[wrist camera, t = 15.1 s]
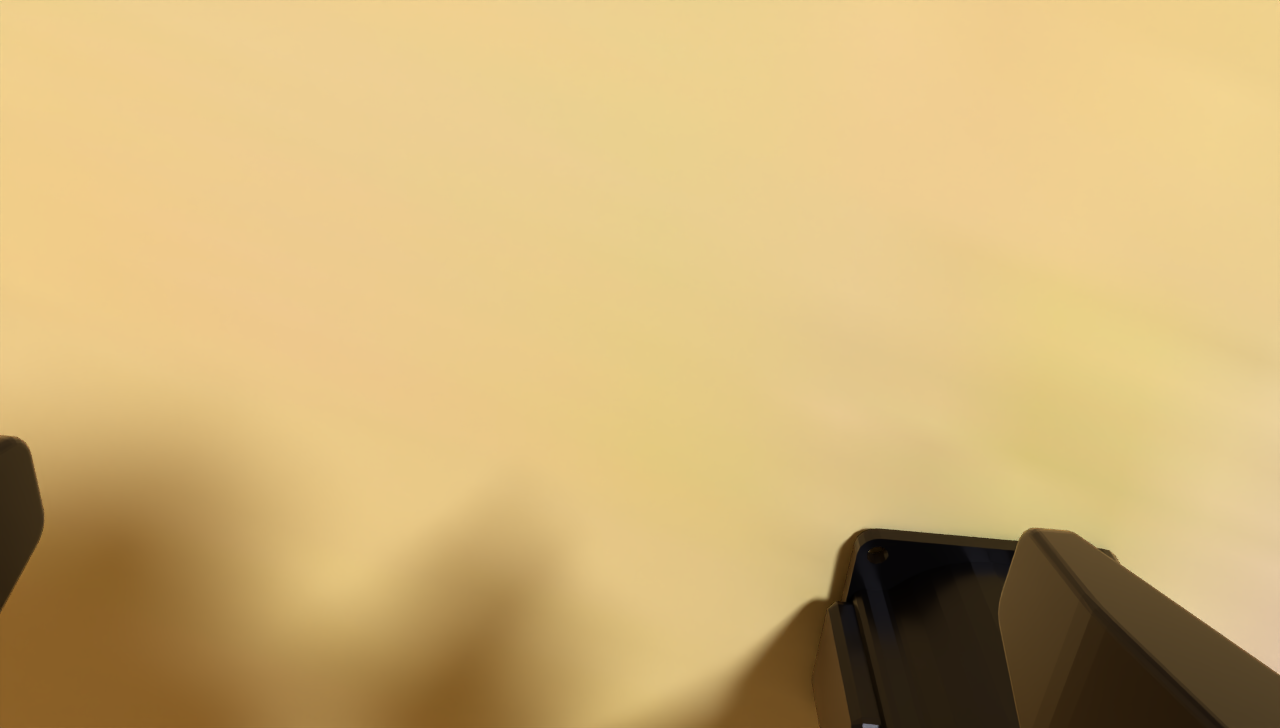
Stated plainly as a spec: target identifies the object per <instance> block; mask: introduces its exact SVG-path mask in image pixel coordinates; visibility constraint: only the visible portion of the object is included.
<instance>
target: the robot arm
mask: <svg viewBox="0 0 1280 728" xmlns="http://www.w3.org/2000/svg"><path fill="white" fill-rule="evenodd" d="M43 526H44V509H43V505H42V500H41V496H40V491H39V487H38V482H37V478H36V473H35V469H34V464H33V460H32V455H31V452H30V449H29V447H28V446H27V444H26V443H25V442H24V441H23V440H21V439H20V438H18V437H15V436H4V435H0V613H1V611H2V609H3V607H4V605H5V603H6V602H7V600H8V598H9V596H10V594H11V592H12V590H13V589H14V587H15V585H16V583H17V581H18V579H19V577H20V575H21V574H22V572H23V570H24V568H25V566H26V564H27V562H28V561H29V559H30V557H31V555H32V553H33V551H34V549H35V548H36V546H37V544H38V542H39V540H40V537H41V534H42V531H43ZM874 547H882V548H884V549H883V550H882V551H880V552H879V553H873V554H872V553H869V552H868V551H869V550H870V549H872V548H874ZM812 685H813V691H814V697H815V703H816V709H817V715H818V721H819V727H820V728H1280V675H1279V674H1278V673H1276V672H1275V671H1273V670H1272V669H1271V668H1269V667H1268V666H1266V665H1265V664H1263V663H1262V662H1260V661H1259V660H1258V659H1256V658H1255V657H1253V656H1252V655H1250V654H1249V653H1247V652H1246V651H1245V650H1243V649H1242V648H1240V647H1239V646H1237V645H1236V644H1234V643H1233V642H1232V641H1230V640H1229V639H1227V638H1226V637H1224V636H1223V635H1221V634H1220V633H1219V632H1217V631H1216V630H1214V629H1213V628H1211V627H1210V626H1208V625H1207V624H1206V623H1204V622H1203V621H1201V620H1200V619H1198V618H1197V617H1196V616H1194V615H1193V614H1191V613H1190V612H1188V611H1187V610H1185V609H1184V608H1183V607H1181V606H1180V605H1178V604H1177V603H1175V602H1174V601H1172V600H1171V599H1170V598H1168V597H1167V596H1165V595H1164V594H1162V593H1161V592H1159V591H1158V590H1157V589H1155V588H1154V587H1152V586H1151V585H1149V584H1148V583H1147V582H1145V581H1144V580H1142V579H1141V578H1139V577H1138V576H1136V575H1135V574H1134V573H1132V572H1131V571H1129V570H1128V569H1126V568H1125V567H1123V566H1122V565H1121V564H1120V562H1119V561H1118V559H1117V558H1116V556H1115V555H1114V554H1113V553H1112V552H1111V551H1109V550H1105V549H1100V548H1096V547H1095V546H1093V545H1092V544H1090V543H1089V542H1087V541H1086V540H1085V539H1083V538H1082V537H1080V536H1079V535H1077V534H1076V533H1074V532H1071V531H1067V530H1055V529H1043V528H1030V529H1028V530H1026V531H1025V532H1024V533H1023V534H1022V535H1021V537H1020V539H1019V541H1011V540H1000V539H989V538H978V537H967V536H955V535H944V534H933V533H922V532H911V531H900V530H889V529H870V530H867V531H865V532H863V533H861V534H860V535H859V536H858V537H857V539H856V541H855V543H854V547H853V551H852V556H851V560H850V564H849V569H848V573H847V577H846V582H845V586H844V590H843V595H842V599H841V602H839V601H836V602H834V603H833V604H832V605H831V606H830V607H829V608H828V609H827V612H826V616H825V621H824V625H823V630H822V634H821V639H820V643H819V648H818V652H817V657H816V661H815V666H814V670H813V675H812Z"/></svg>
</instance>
